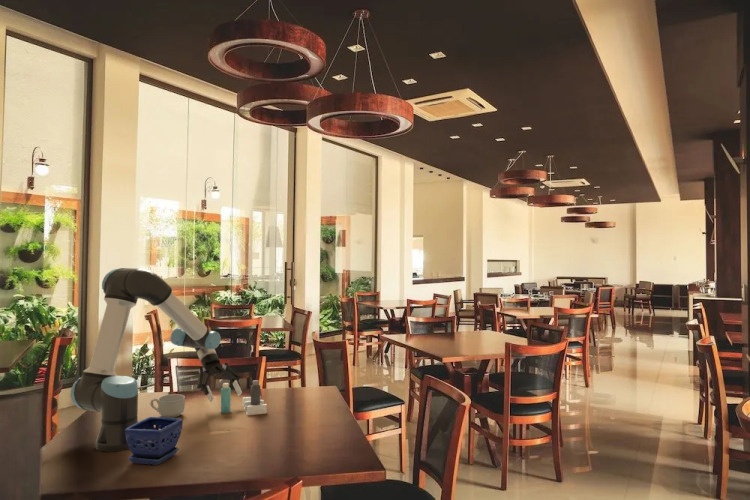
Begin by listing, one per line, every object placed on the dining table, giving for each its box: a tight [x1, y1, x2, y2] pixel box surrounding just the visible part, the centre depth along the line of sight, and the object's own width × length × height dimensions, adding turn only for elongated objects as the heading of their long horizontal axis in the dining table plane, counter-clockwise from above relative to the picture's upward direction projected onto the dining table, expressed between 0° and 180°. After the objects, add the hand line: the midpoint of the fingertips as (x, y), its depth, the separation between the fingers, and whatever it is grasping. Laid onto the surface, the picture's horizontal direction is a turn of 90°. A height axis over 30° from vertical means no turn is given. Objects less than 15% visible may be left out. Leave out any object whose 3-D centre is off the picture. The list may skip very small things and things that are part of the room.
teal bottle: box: [220, 382, 232, 414], centre depth 222 cm, size 4×4×13 cm
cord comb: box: [241, 395, 268, 416], centre depth 226 cm, size 16×8×4 cm, turn 22°
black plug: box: [250, 379, 261, 405], centre depth 223 cm, size 4×4×13 cm
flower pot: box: [125, 416, 184, 466], centre depth 172 cm, size 13×13×12 cm
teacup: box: [149, 393, 186, 418], centre depth 220 cm, size 14×11×8 cm
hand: (226, 397), depth 223 cm, fingers open, 13 cm apart
